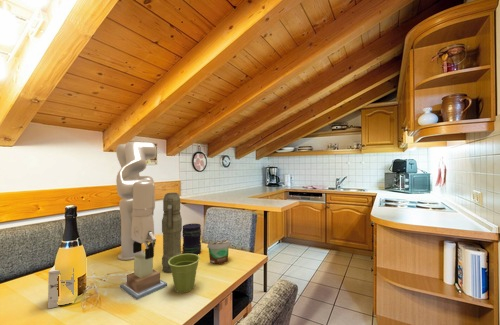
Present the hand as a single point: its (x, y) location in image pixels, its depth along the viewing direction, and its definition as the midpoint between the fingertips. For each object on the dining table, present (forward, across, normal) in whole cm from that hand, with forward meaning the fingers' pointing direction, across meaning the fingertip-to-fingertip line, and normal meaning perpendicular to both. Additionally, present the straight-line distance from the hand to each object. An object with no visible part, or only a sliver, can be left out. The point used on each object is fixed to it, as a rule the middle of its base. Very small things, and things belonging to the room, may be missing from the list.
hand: (143, 255), depth 92 cm
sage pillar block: (+7, +1, 0) cm, 7 cm away
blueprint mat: (+12, +1, 0) cm, 12 cm away
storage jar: (+13, -13, +34) cm, 38 cm away
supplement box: (+13, -12, -22) cm, 28 cm away
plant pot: (+12, +15, +9) cm, 21 cm away
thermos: (+13, -4, +16) cm, 21 cm away
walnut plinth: (+12, +1, 0) cm, 12 cm away
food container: (+13, +9, +35) cm, 38 cm away
